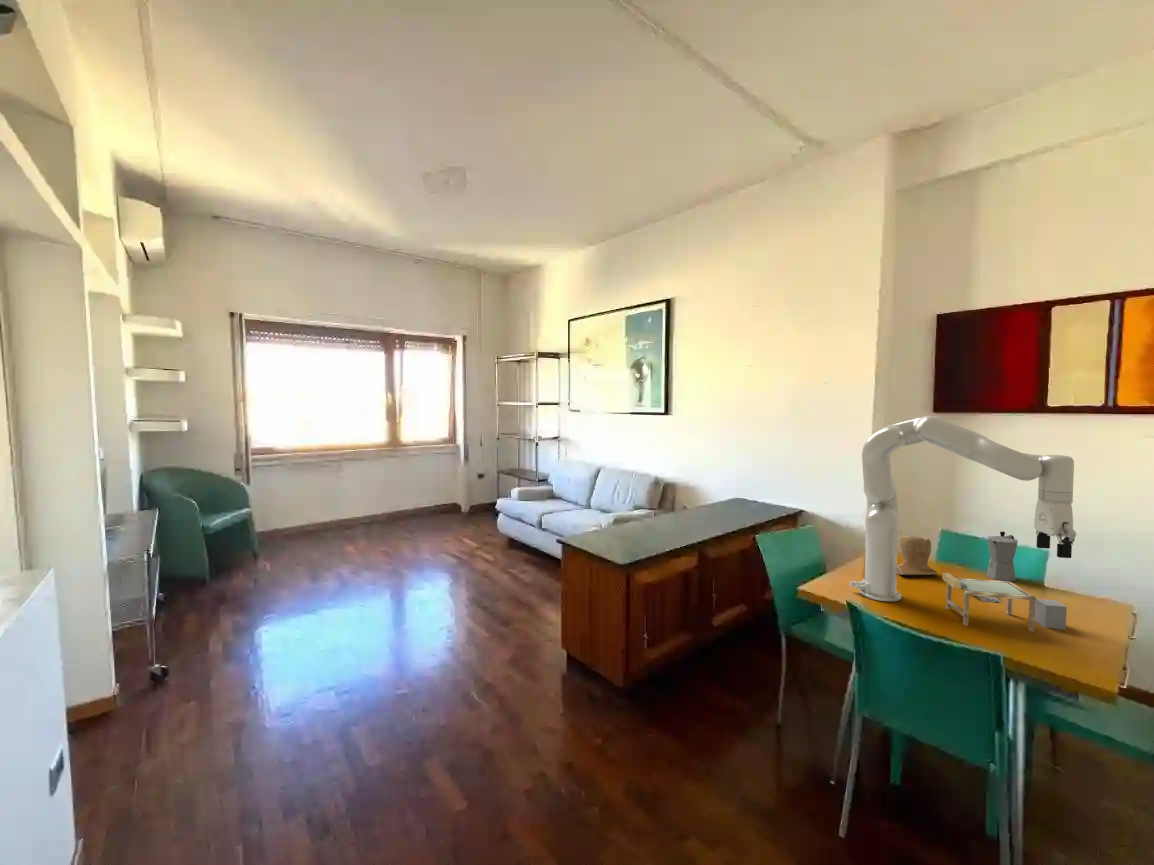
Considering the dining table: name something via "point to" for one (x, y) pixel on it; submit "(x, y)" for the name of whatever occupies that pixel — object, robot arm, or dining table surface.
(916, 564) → the stone cup
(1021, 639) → the dining table surface
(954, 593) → the dining table surface
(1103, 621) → the dining table surface
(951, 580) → the trapdoor
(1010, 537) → the coffeepot
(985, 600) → the stone fragment
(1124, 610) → the dining table surface
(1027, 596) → the trapdoor frame
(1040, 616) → the granite block
